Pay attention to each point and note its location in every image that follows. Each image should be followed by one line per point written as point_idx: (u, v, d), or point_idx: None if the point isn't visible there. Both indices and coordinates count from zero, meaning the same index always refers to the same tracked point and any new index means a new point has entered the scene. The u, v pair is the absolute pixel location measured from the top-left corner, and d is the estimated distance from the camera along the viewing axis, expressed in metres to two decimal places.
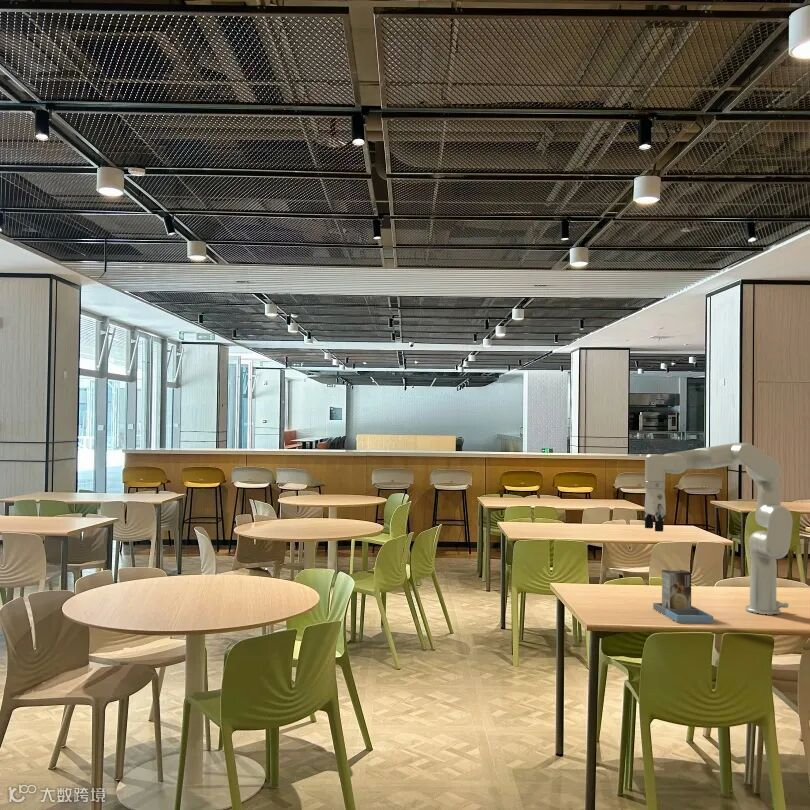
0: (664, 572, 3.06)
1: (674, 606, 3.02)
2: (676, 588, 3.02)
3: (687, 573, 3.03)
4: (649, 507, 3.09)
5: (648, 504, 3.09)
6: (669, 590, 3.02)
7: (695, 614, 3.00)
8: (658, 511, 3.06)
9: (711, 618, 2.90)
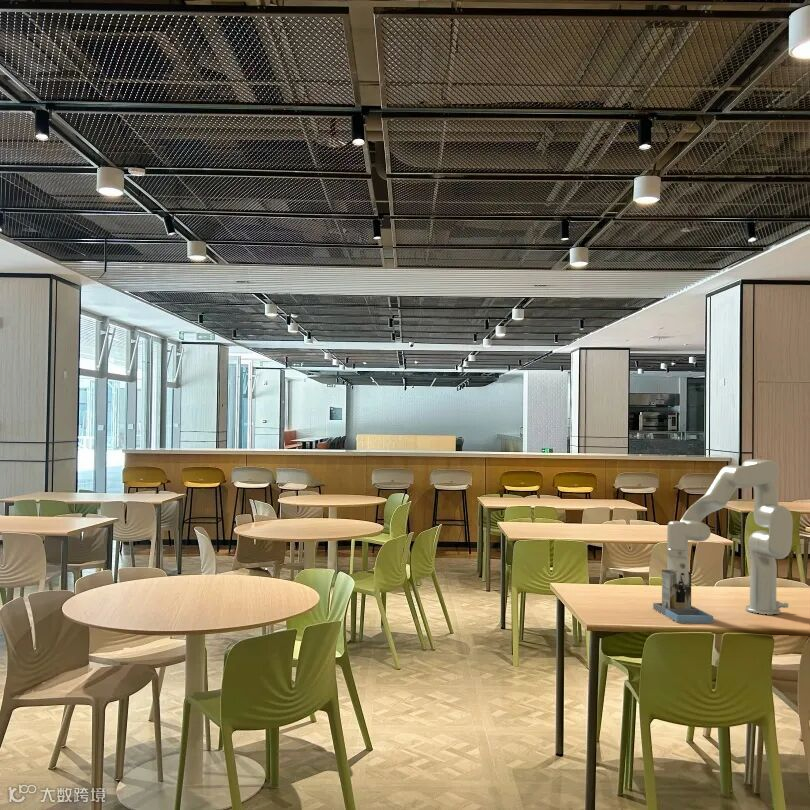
0: (664, 572, 3.06)
1: (674, 606, 3.02)
2: (676, 588, 3.02)
3: None
4: None
5: None
6: (669, 590, 3.02)
7: (695, 614, 3.00)
8: (680, 580, 3.03)
9: (711, 618, 2.90)
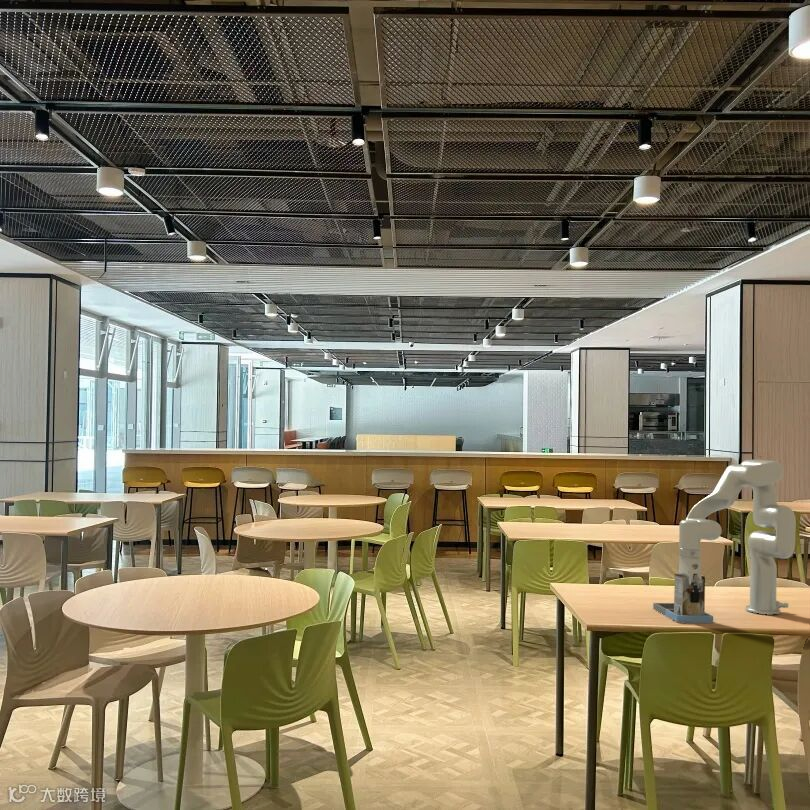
0: (677, 576, 2.96)
1: (687, 612, 2.91)
2: (689, 592, 2.92)
3: None
4: None
5: (683, 573, 2.95)
6: (681, 595, 2.92)
7: None
8: (693, 581, 2.92)
9: (711, 618, 2.90)
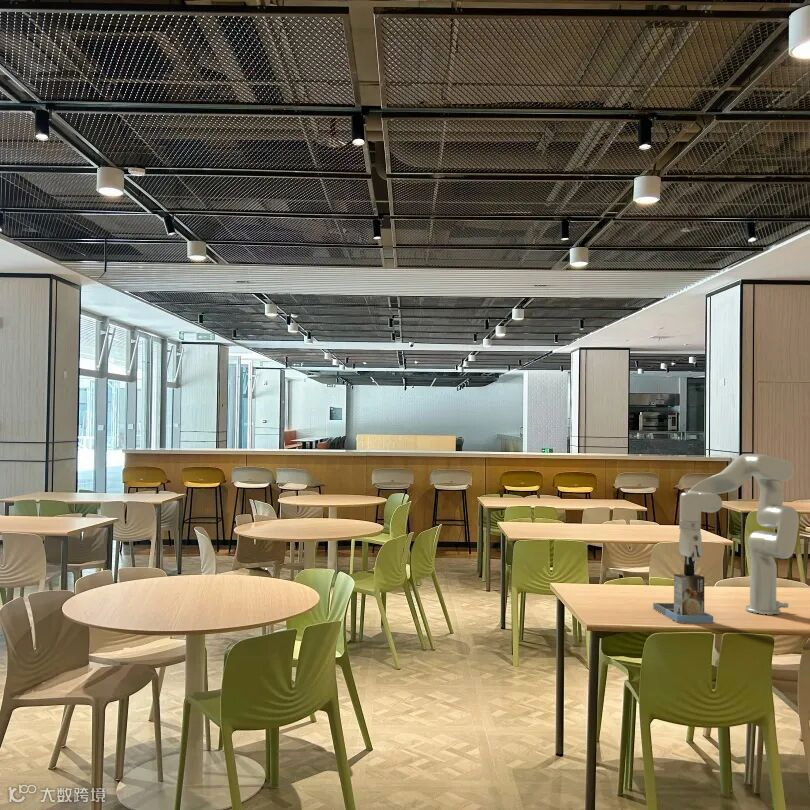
0: (676, 576, 2.96)
1: (687, 612, 2.91)
2: (689, 593, 2.92)
3: (700, 577, 2.93)
4: (684, 548, 2.95)
5: (683, 545, 2.95)
6: (681, 596, 2.92)
7: None
8: None
9: (711, 618, 2.90)
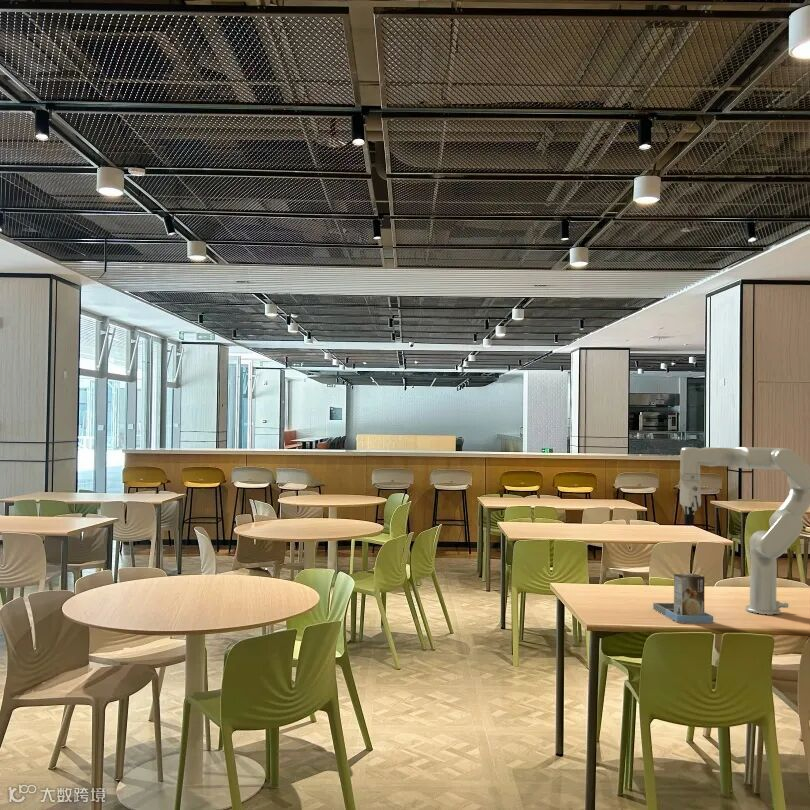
0: (676, 576, 2.96)
1: (687, 612, 2.91)
2: (689, 593, 2.92)
3: (700, 577, 2.93)
4: (684, 499, 3.16)
5: (683, 496, 3.17)
6: (681, 596, 2.92)
7: None
8: None
9: (711, 618, 2.90)
